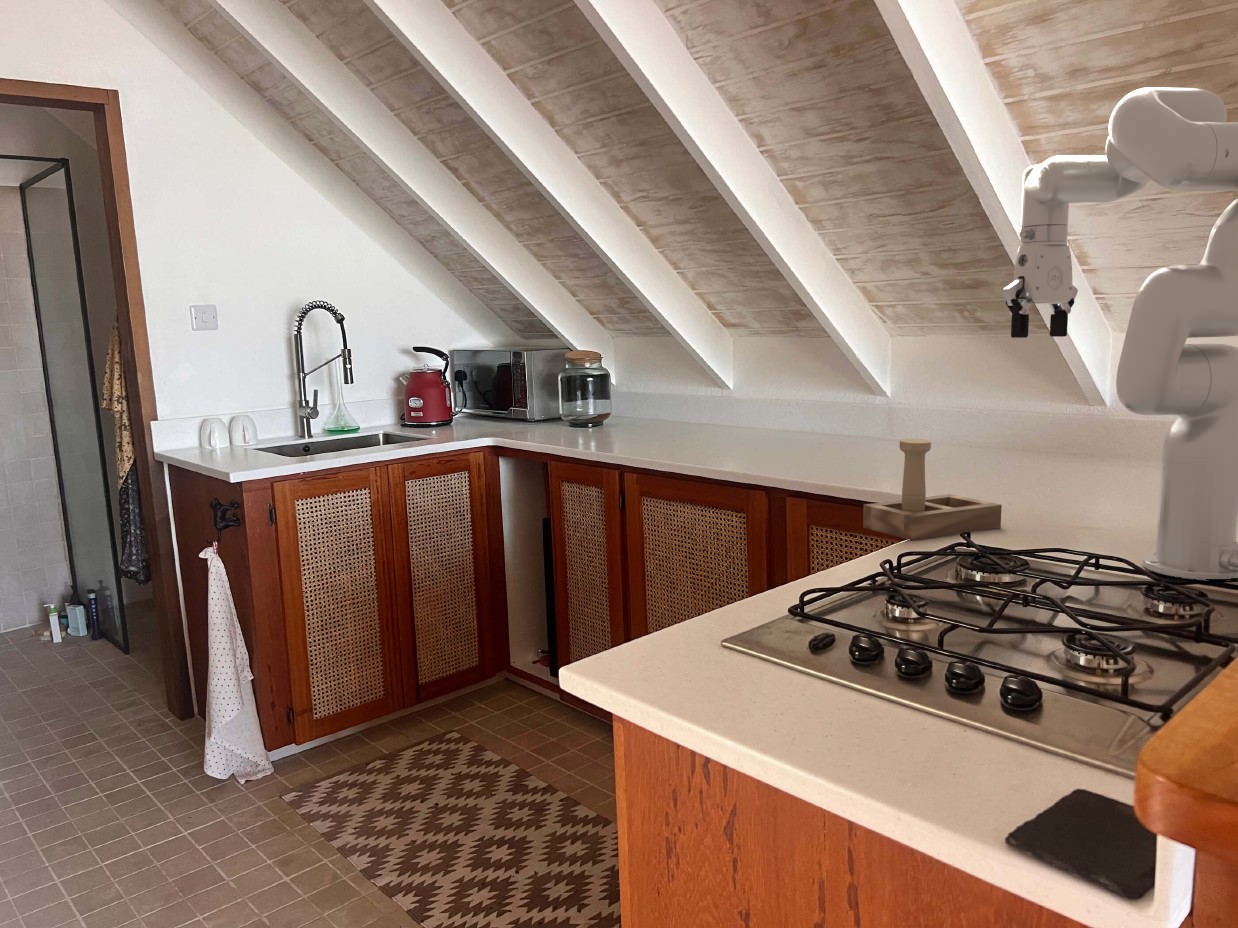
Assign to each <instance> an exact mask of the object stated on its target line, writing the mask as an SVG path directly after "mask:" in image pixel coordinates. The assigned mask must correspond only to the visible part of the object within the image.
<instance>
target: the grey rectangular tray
mask: <svg viewBox="0 0 1238 928" xmlns="http://www.w3.org/2000/svg"><path fill="white" fill-rule="evenodd" d="M862 507H863V509H862V511H863V513H862V527H863V528H864V529H868V530H871V531H876V532H879V533H883V534H887V535H891V536H895V537H898V538H903V539H905V540H909V541H918V540H926V539H933V538H937V537H945V536H952V535H959V534H962V533H961V532H966V533H973V532H978V531H985V530H993V529H999V528H1001V527H1002V504H1001V503H995V502H990V501H985V500H980V499H975V498H971V497H964V496H960V495H955V494H950V493H949V494H941V495H934V496H926V498H925V512H918V513H911V512H906V511H902V499H900V500H892V501H883V502H875V503H867V504H866V503H865V504H863V506H862Z"/></svg>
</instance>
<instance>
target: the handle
mask: <svg viewBox="0 0 1238 928" xmlns="http://www.w3.org/2000/svg"><path fill="white" fill-rule="evenodd" d="M931 448H932V441H931V440H928V439H925V438H924V439H923V438H902V439H900V440H899V450H900V451H901V452H903V453H904V465H903V477H902V488H901V500H902V511H906V512H911V513H918V512H925V498H926V497H927V494H926V492H927V490H926V488H927V487H926V454H927V453H928V452H930V451H931Z"/></svg>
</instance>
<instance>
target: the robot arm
mask: <svg viewBox="0 0 1238 928" xmlns="http://www.w3.org/2000/svg"><path fill="white" fill-rule="evenodd" d="M1227 120H1228V112H1227V107H1226V105H1225V103H1224V102H1223V100H1222V99H1221V97H1220V96H1218V95H1217V94H1215V93H1214V92H1212V91H1210V90H1206V89H1202V88H1197V87H1196V88H1195V87H1157V86H1156V87H1149V86H1148V87H1147V86H1146V87H1141V88H1138V89H1135V90H1133V91H1131V92H1129V93H1127V94H1126V95H1124V97H1123V98H1121V100H1120V101H1118V103H1117V104H1116V105H1115V107H1114V109H1113V110H1112V113H1111V115H1110V117H1109V122H1108V136H1107V139H1106V144H1105V155H1101V154H1100V155H1097V154H1093V155H1092V154H1091V155H1090V154H1089V155H1088V154H1086V155H1085V154H1078V155H1075V154H1074V155H1073V154H1070V155H1069V154H1067V155H1066V154H1064V155H1063V154H1062V155H1061V154H1060V155H1055V156H1052V157H1049V158H1047V159H1046V160H1044V161H1043V162H1042V163H1038V164H1034V165H1031V166H1028V167H1027V168H1025V170H1024V172H1023V174H1022V184H1021V185H1022V187H1021V189H1022V190H1021V211H1020V212H1021V213H1020V231H1019V246H1018V249H1017V252H1016V257H1015V258H1016V259H1015V264H1014V271H1013V281H1012V282H1011V283H1010V284H1008V285H1007V286H1005V287H1004V288H1003V289H1002V293H1003V296H1004V300H1005V306H1006V307H1007V308H1008V313H1009V315H1011V320H1010V321H1011V323H1010V327H1011V329H1010V337H1011V338H1019V339H1021V338H1022V339H1026V338H1028V337H1029V326H1030V325H1029V323H1030V314H1029V313H1028V314H1027V312H1028V311H1029V308H1030V307H1031V306H1032V304H1048V305H1049V306H1050V307H1049V308H1051V310H1052V312H1053V313H1050V320H1049V336H1050V337H1053V338H1054V337H1057V338H1058V337H1067V336H1068V323H1069V322H1068V321H1069V320H1068V319H1069V314H1071V311H1072V307H1074V306H1073V305H1074V304H1075V299H1076V297H1077V295H1078V292H1079V291H1078V288H1077V287H1076V286H1074V285H1073V264H1072V263H1073V261H1072V255H1071V254H1072V253H1071V248H1070V245H1068V229H1069V228H1068V227H1069V211H1070V209H1069V208H1070V203H1071V204H1074V203H1094V204H1095V203H1096V204H1097V203H1099V204H1100V203H1101V204H1102V203H1111V202H1115V201H1118V200H1121V199H1123V198H1126V197H1129V196H1130V195H1132V194H1135V193H1137V192H1140V191H1141V190H1142V189H1144V188H1145V187H1146V186H1147V185H1148V184H1149V182H1150V180H1152V181H1153V182H1155V184H1157V185H1159V186H1161V187H1163V188H1165V189H1168V190H1171V191H1172V190H1173V191H1176V192H1178V191H1179V192H1180V191H1181V192H1219V191H1220V192H1226V191H1227V192H1231V191H1232V192H1237V193H1238V121H1229V122H1228V121H1227ZM1208 236H1209V237H1208V242H1207V244H1206V249H1205V252H1204V254H1203V258H1202V259H1201V261H1200V262H1199V263H1198V264H1173V265H1167V266H1164V267H1160V268H1158V269H1157V270H1156V271H1153V272H1152V273H1150V275H1149V276H1147V278H1146V279H1145V280H1144V281H1143V283H1142V284H1141V285H1140V288H1139V289H1138V291H1137V293H1136V296H1135V298H1134V300H1133V305H1132V308H1131V312H1130V317H1129V321H1128V324H1127V329H1126V333H1125V337H1124V341H1123V345H1122V349H1121V353H1120V357H1119V360H1118V361H1119V362H1118V365H1117V370H1116V379H1115V385H1116V386H1115V388H1116V394H1117V398H1118V400H1119V402H1120V403H1121V405H1122V406H1123V408H1125V410H1127V411H1129V412H1131V413H1133V414H1136V415H1140V416H1176V417H1175V419H1174V420H1173V422H1172V424H1171V425H1170V427H1169V428H1168V430H1167V433H1166V434H1165V438H1164V441H1163V445H1162V453H1161V467H1160V468H1161V469H1160V482H1159V498H1158V513H1157V531H1156V542H1155V543H1156V544H1155V545H1156V548H1155V552H1153V553H1152V552H1151V553H1148V554H1146V555H1144V556H1143V558H1142V566H1143V567H1144V568H1145V569H1146V570H1149V571H1151V572H1153V573H1157V574H1160V575H1165V576H1169V577H1173V576H1174V578H1179V577H1181V578H1180V579H1187V580H1194V579H1196V581H1197V580H1198V581H1207V580H1206V579H1231V578H1238V541H1237V533H1238V347H1236V346H1233V345H1230V344H1222V343H1186V342H1187V340H1188V338H1189V339H1190V338H1191V339H1192V338H1193V339H1195V338H1198V339H1199V338H1224V337H1225V338H1226V337H1236V336H1238V197H1236V198H1235V200H1233V201H1232V202H1231V203H1230V204H1229V205H1228V206H1227V207H1226V208H1225V210H1223V212H1222V214H1221V215H1219V217H1218V218H1217V220H1216V221H1215V223H1214V224H1213V227H1212V229H1211V231H1210V234H1209V235H1208Z"/></svg>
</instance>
